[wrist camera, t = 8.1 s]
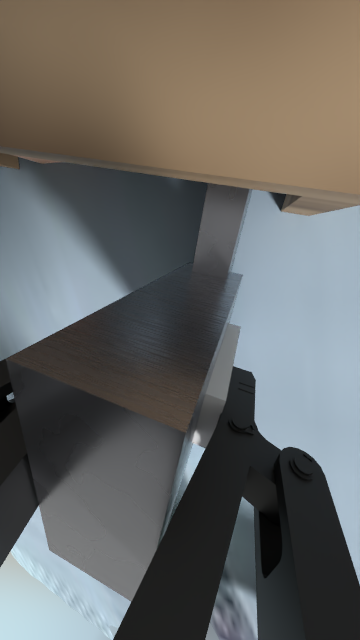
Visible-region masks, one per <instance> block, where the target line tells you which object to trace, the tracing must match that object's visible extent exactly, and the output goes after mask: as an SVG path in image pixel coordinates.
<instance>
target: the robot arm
mask: <svg viewBox="0 0 360 640" xmlns="http://www.w3.org/2000/svg"><path fill="white" fill-rule="evenodd" d="M239 333H240V326H236V325H233V324H228V327H227V330H226V333H225V336H224V339H223V342H222V345H221V348H220V351H219V354H218V357H217V360H216V363H215V366H214V369H213V373H212V376H211V379H210V382H209V385H208V388H207V391H206V394H205V398H204V401H203V405H202V408H201V412H200V416H199V419H198V423H197V427H196V430H195V434H194V437H193V441H192V443H194V444H197V445H199V446H201V447H204V448H206V449H205V451H204V453H203V455H202V457H201V459H200V461H199V463H198V465H197V467H196V469H195V472H194V474H193V476H192V478H191V480H190V482H189V484H188V486H187V488H186V490H185V492H184V494H183V496H182V498H181V500H180V503H179V505H178V507H177V509H176V511H175V513H174V515H173V517H172V519H171V521H170V523H169V525H168V527H167V529H166V531H165V534H164V536H163V538H162V540H161V542H160V544H159V546H158V548H157V550H156V552H155V554H154V556H153V558H152V560H151V562H150V565H149V567H148V569H147V571H146V573H145V575H144V577H143V579H142V581H141V583H140V585H139V587H138V589H137V591H136V594H135V596H134V598H133V600H132V602H131V604H130V606H129V608H128V610H127V612H126V614H125V616H124V618H123V620H122V622H121V625H120V627H119V629H118V631H117V633H116V635H115V637H114V639H113V640H205V638H206V634H207V630H208V627H209V623H210V619H211V615H212V611H213V607H214V603H215V599H216V595H217V592H218V588H219V584H220V580H221V576H222V572H223V568H224V564H225V560H226V557H227V553H228V549H229V545H230V541H231V537H232V533H233V529H234V525H235V522H236V518H237V514H238V510H239V506H240V502H241V498H242V497H244V498H245V499H246V500H247V501H248V502H249V503H251V504H252V505H253V506H254V529H255V561H256V592H257V624H258V640H360V585H359V582H358V578H357V575H356V572H355V569H354V566H353V563H352V560H351V556H350V553H349V550H348V547H347V544H346V541H345V537H344V534H343V531H342V528H341V525H340V522H339V518H338V515H337V512H336V509H335V506H334V503H333V500H332V496H331V493H330V490H329V487H328V484H327V481H326V477H325V475H324V473H323V471H322V469H321V467H320V466H319V464H318V463H317V462H316V461H315V460H314V458H312V457H311V456H310V455H309V454H307V453H306V452H304V451H302V450H300V449H298V448H293V447H287V448H284V449H283V450H282V451H281V450H280V449H279V448H277V447H276V446H274V445H273V444H271V443H270V442H268V441H267V440H266V439H265V438H264V437H263V436H262V435H261V434H260V433H259V431H258V428H257V426H256V424H255V421H254V412H255V382H256V380H255V378H254V376H253V374H252V372H249V371H246V370H243V369H240V368H237V367H234V366H233V363H234V358H235V353H236V348H237V343H238V338H239ZM12 392H13V389H12V385H11V380H10V376H9V371H8V367H7V363H6V359H4V360H2V361H0V567H1V565H2V564H3V562H4V561H5V559H6V557H7V556H8V554H9V552H10V551H11V549H12V548H13V546H14V544H15V543H16V541H17V539H18V538H19V536H20V535H21V533H22V531H23V530H24V528H25V527H26V525H27V523H28V522H29V520H30V518H31V517H32V515H33V514H34V512H35V510H36V509H37V507H38V505H39V503H38V498H37V494H36V489H35V485H34V481H33V476H32V472H31V468H30V463H29V459H28V454H27V450H26V446H25V441H24V437H23V433H22V428H21V424H20V420H19V415H18V411H17V406H16V402H15V398H14V399H12V400H9V401H8V400H7V397H6V396H7V395H9V394H10V393H12Z"/></svg>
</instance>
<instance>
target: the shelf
mask: <svg viewBox="0 0 360 640" xmlns="http://www.w3.org/2000/svg"><path fill="white" fill-rule="evenodd" d="M10 154H11V155H10ZM13 155H18V156H25V157H32V158H39V159H46V160H53V161H60V162H67V163H74V164H81V165H88V166H95V167H102V168H109V169H116V170H122V171H129V172H136V173H143V174H150V175H157V176H164V177H171V178H178V179H185V180H192V181H199V182H206V183H213V184H220V185H227V186H234V187H241V188H248V189H255V190H262V191H269V192H276V193H283V194H286V197H285V200H284V203H283V206H282V210H281V211H282V212H288V213H294V214H300V215H307V216H310V215H315V214H320V213H324V212H329V211H334V210H339V209H343V208H348V207H353V206H358V205H360V0H0V166H3V167H8V168H15V169H19V161H18V157H17V156H13Z"/></svg>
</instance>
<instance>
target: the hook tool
mask: <svg viewBox="0 0 360 640" xmlns="http://www.w3.org/2000/svg"><path fill="white" fill-rule="evenodd" d="M251 193H252V189H248V188H241V187H234V186H227V185H220V184H213V183H208V185H207V191H206V196H205V202H204V207H203V213H202V218H201V224H200V229H199V235H198V240H197V246H196V251H195V257H194V262H193V263H188V264H186V265H184V266H182V267H180V268H178V269H176V270H174V271H172V272H171V273H169V274H167V275H165V276H163V277H161V278H159V279H157V280H155V281H153V282H151V283H150V284H148V285H146V286H144V287H142V288H140V289H138V290H136V291H134V292H132V293H130V294H129V295H127V296H125V297H123V298H121V299H119V300H117V301H115V302H113V303H111V304H109V305H108V306H106V307H104V308H102V309H100V310H98V311H96V312H94V313H92V314H90V315H88V316H87V317H85V318H83V319H81V320H79V321H77V322H75V323H73V324H71V325H69V326H67V327H65V328H64V329H62V330H60V331H58V332H56V333H54V334H52V335H50V336H48V337H46V338H44V339H43V340H41V341H39V342H37V343H35V344H33V345H31V346H29V347H27V348H25V349H23V350H22V351H20V352H18V353H16V354H14V355H12V356H10V357H8V358H6V363H7V367H8V371H9V376H10V380H11V385H12V389H13V393H14V398H15V402H16V406H17V411H18V415H19V420H20V424H21V428H22V433H23V437H24V441H25V446H26V450H27V454H28V459H29V463H30V468H31V472H32V476H33V481H34V485H35V489H36V494H37V498H38V503H39V507H40V511H41V516H42V520H43V524H44V529H45V533H46V537H47V542H48V546H49V550H50V551H52V552H53V553H55V554H56V555H58V556H60V557H61V558H63V559H64V560H66V561H68V562H69V563H71V564H72V565H74V566H76V567H77V568H79V569H80V570H82V571H84V572H85V573H87V574H88V575H90V576H92V577H93V578H95V579H96V580H98V581H100V582H101V583H103V584H104V585H106V586H107V587H109V588H111V589H112V590H114V591H115V592H117V593H119V594H120V595H122V596H123V597H125V598H127V599H128V600H130V601H131V602H132V600H133V598H134V596H135V594H136V591H137V589H138V587H139V585H140V583H141V581H142V579H143V577H144V575H145V573H146V571H147V569H148V567H149V565H150V562H151V560H152V558H153V556H154V554H155V552H156V550H157V548H158V546H159V544H160V542H161V540H162V538H163V536H164V534H165V531H166V529H167V526H168V522H169V519H170V516H171V513H172V510H173V506H174V503H175V500H176V497H177V493H178V490H179V487H180V484H181V481H182V477H183V474H184V471H185V468H186V464H187V461H188V458H189V455H190V451H191V448H192V445H193V443H192V441H193V437H194V434H195V430H196V427H197V423H198V419H199V416H200V412H201V408H202V405H203V401H204V398H205V394H206V391H207V388H208V385H209V382H210V379H211V376H212V373H213V369H214V366H215V363H216V360H217V357H218V354H219V351H220V348H221V345H222V342H223V339H224V336H225V333H226V330H227V327H228V324H229V321H230V318H231V314H232V311H233V307H234V304H235V300H236V297H237V293H238V290H239V286H240V283H241V279H242V276H243V275H241V274H237V273H232V272H231V270H232V266H233V262H234V258H235V254H236V250H237V247H238V243H239V239H240V235H241V231H242V227H243V223H244V220H245V216H246V212H247V208H248V204H249V200H250V197H251Z"/></svg>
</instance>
